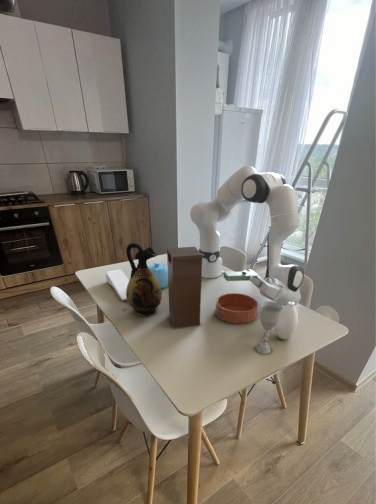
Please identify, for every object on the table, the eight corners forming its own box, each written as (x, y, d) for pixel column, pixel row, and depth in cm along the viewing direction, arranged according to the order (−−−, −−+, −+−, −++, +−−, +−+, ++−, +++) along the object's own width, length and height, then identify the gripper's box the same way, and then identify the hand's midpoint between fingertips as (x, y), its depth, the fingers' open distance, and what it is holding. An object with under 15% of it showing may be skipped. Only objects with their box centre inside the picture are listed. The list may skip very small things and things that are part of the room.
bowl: (210, 307, 133) (211, 295, 129) (245, 303, 136) (247, 291, 133) (223, 326, 118) (225, 314, 115) (262, 321, 122) (264, 309, 119)
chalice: (249, 349, 106) (256, 306, 96) (259, 341, 110) (267, 299, 100) (267, 357, 102) (276, 313, 92) (276, 349, 106) (286, 306, 96)
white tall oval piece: (291, 346, 108) (302, 303, 98) (270, 340, 111) (279, 298, 101) (295, 335, 113) (306, 294, 103) (275, 330, 116) (284, 289, 106)
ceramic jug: (166, 304, 134) (164, 239, 117) (156, 321, 122) (152, 251, 105) (132, 300, 137) (125, 236, 121) (119, 316, 125) (109, 247, 108)
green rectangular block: (223, 276, 118) (224, 269, 116) (251, 276, 121) (253, 269, 120) (227, 281, 115) (228, 273, 113) (256, 280, 118) (257, 273, 116)
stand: (169, 316, 125) (166, 248, 109) (193, 313, 128) (194, 246, 111) (173, 328, 117) (172, 256, 101) (199, 324, 120) (202, 254, 103)
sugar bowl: (177, 285, 152) (177, 264, 145) (152, 292, 145) (150, 270, 138) (163, 276, 162) (162, 256, 156) (139, 282, 155) (137, 261, 149)
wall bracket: (139, 308, 142) (121, 281, 160) (142, 295, 138) (123, 269, 157) (120, 308, 137) (103, 280, 155) (122, 295, 133) (105, 268, 151)
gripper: (263, 272, 131) (240, 259, 125) (286, 291, 115) (262, 277, 109) (255, 284, 134) (232, 272, 127) (277, 304, 117) (252, 291, 111)
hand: (246, 275), depth 118 cm, fingers closed on green rectangular block, 4 cm apart
